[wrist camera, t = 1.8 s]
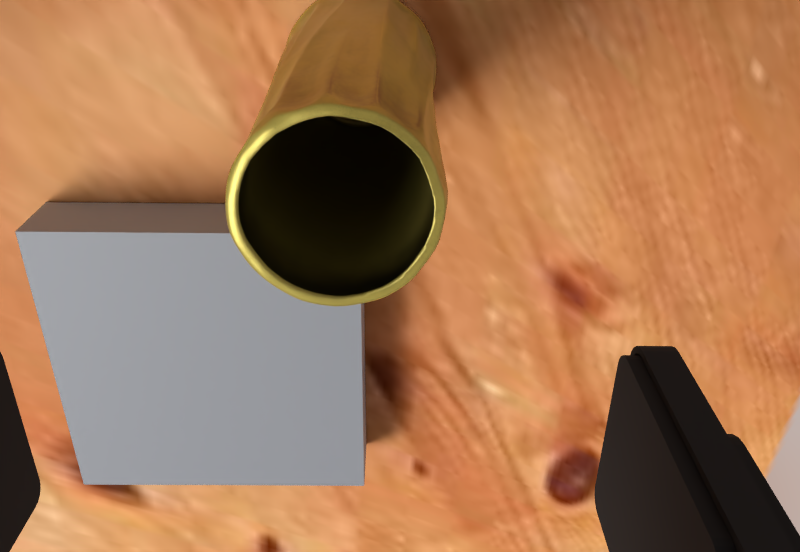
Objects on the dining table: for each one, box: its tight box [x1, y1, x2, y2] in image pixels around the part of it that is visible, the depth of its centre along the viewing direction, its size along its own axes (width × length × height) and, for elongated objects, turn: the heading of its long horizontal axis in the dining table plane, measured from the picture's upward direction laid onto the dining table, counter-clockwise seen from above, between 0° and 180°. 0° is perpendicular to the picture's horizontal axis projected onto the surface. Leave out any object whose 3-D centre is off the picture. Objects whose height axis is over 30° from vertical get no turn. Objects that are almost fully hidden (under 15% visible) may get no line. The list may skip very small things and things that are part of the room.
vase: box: [225, 0, 448, 306], centre depth 23 cm, size 6×6×14 cm
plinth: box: [15, 202, 366, 486], centre depth 34 cm, size 14×14×3 cm
